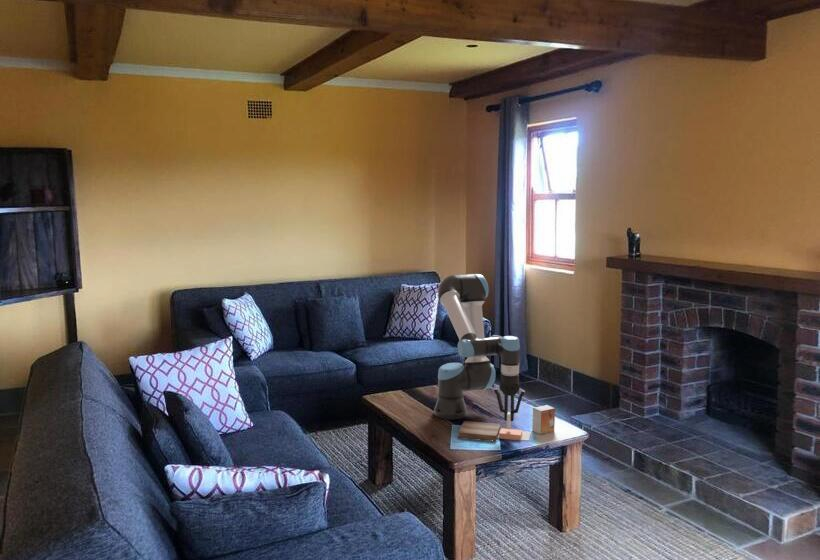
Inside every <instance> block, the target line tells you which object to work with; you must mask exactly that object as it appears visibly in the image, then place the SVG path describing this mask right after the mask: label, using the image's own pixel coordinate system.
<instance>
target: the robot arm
mask: <svg viewBox="0 0 820 560" xmlns="http://www.w3.org/2000/svg"><path fill="white" fill-rule="evenodd" d="M489 292H490V291H489V284H488V281H487V279H486V278H485V276H484V275H483V274H480V273H469V274H465V273H464V274H451V275H449V276H446V277H445V278H444V279H443V280H442V281H441V282H440V284H439V286H438V290H437V296H438V297H437V298H438V300H439V303H440V305H441V306H443V307H444V308H445V310H446V313H447V316H448V317H449V320H450V322H451V324H452V326H453V329H454V330H455V333H456V335H457V337H458V340H459V341H458V342H457V350H458V351H457V352H458V354H459V356H460V357H462V358H466V359H465V361H464V363H461V362H448V363H444V364H442V365H441V366H440V367H439V368H438V370H437V371H438V373H437V400H436V403H435V405H434V408H433V409H434V410H433V415H434V416H435V417H436V418H440V419H443V420H461V419H464V418H465V417H467V415H468V410H467V406H466V403H465V400H464V399H465V398H464V392H469V391H470V392H471V391H472V392H473V391H484V390H487V389H488V390H489V389H491V388H492V387H493V386H494V384H495V381H496V369H495V365H494V364H492V363H491V362H490V359H489V358H488V357H487V356H497V355H498V356H500V373H501V374H500V384H499V386H498V387H495V388H494V390H493V392H494V393H495V395H496V399H497V404H498V407H499V411H500V412H501V413H504V414H503V415H504V417H503V419H504V421H506V429H512V422H513V421H514V420H515V417H514V416H515V414H518V412H519V409H520V406H521V402H522V399H523V396H524V395H525V393H526V391H525V389H522V388H521V385H520V375H519V374H520V353H521V352H520V350H521V349H520V348H521V345H520V338H519V337H517V336H515V335H514V336H513V335H505V336H501V335H499V334H493V335H491V336H489V337H485V329H484V327H485V326H484V315H483V305H484V303H485V302H486V301H485V300H486V298H488V296H489ZM501 392H502V394H503V395H504V403H503V399H502V396H501ZM517 393H518V394H519V396H518V399H517V403H516V406H515V395H516V394H517ZM509 396H510V411H509ZM503 404H504V405H503Z"/></svg>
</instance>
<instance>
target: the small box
mask: <svg viewBox="0 0 820 560" xmlns="http://www.w3.org/2000/svg"><path fill="white" fill-rule="evenodd" d="M555 418H556V408H555V407H553V406H550V405H549V404H545V405H541V406H534V407H532V422H531V423H532V424H531V426H532V427H531V428H532V429H531V432H534V433H535V434H539V435H543V434H548V433H549V434H550V433H554V432H555V423H556V421H555V420H556V419H555Z"/></svg>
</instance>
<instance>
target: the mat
mask: <svg viewBox="0 0 820 560" xmlns="http://www.w3.org/2000/svg"><path fill="white" fill-rule="evenodd" d="M500 430H501V429H500ZM531 433H532V431H526V430H522V437H521V440H520V441H525V442H529V441H530V438H531ZM497 439H505V440H508V439H507V438H499V435H498V438H497ZM511 440H514V441H518V440H517V439H511Z"/></svg>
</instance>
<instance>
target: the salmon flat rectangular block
mask: <svg viewBox="0 0 820 560" xmlns="http://www.w3.org/2000/svg"><path fill="white" fill-rule="evenodd" d="M522 431H523V430H522V429H513V428H511V429H507V428H502V427H501V430H500V432H499V438H498V439H501V438H507V439H506V440H512V439H517V440H516V441H522V440H521V437H522Z"/></svg>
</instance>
